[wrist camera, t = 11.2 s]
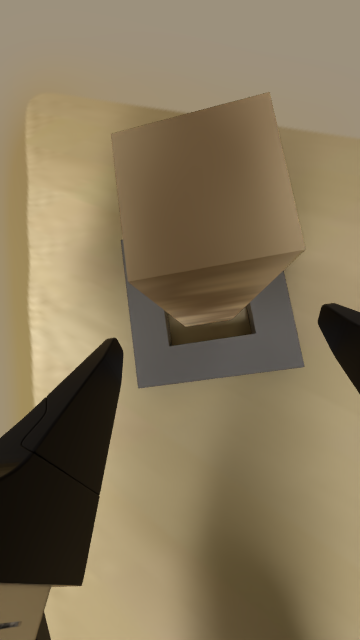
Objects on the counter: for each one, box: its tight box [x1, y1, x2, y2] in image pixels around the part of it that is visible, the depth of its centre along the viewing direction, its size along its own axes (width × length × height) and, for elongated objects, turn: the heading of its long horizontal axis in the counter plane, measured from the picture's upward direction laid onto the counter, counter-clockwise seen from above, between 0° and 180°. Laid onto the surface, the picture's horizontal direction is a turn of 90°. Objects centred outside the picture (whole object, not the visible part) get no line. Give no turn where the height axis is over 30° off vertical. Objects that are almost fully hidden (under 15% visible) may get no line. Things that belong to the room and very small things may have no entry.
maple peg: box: [111, 92, 306, 327], centre depth 12 cm, size 4×4×14 cm
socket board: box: [121, 240, 304, 388], centre depth 18 cm, size 13×13×2 cm
